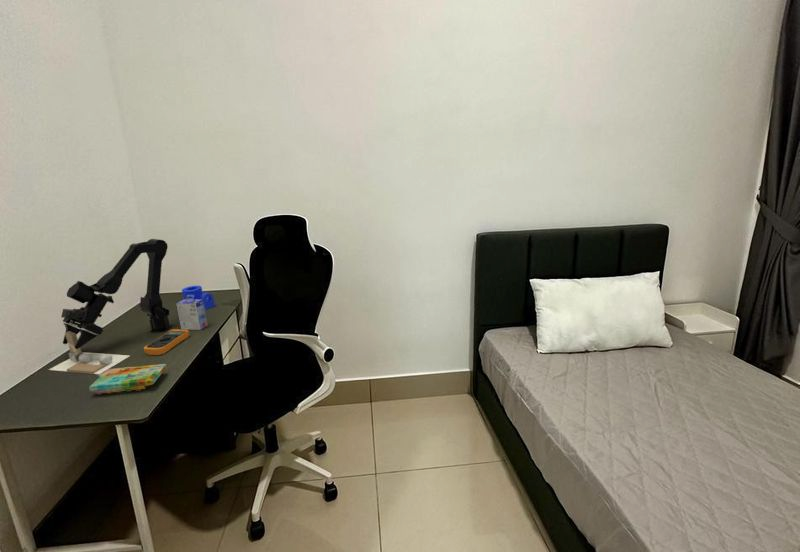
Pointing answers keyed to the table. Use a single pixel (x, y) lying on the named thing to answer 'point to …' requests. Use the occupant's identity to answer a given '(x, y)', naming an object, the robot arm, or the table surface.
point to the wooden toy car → (73, 346)
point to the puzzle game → (127, 378)
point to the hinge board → (90, 363)
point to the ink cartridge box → (192, 313)
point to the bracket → (199, 295)
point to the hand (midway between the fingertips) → (69, 346)
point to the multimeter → (166, 342)
